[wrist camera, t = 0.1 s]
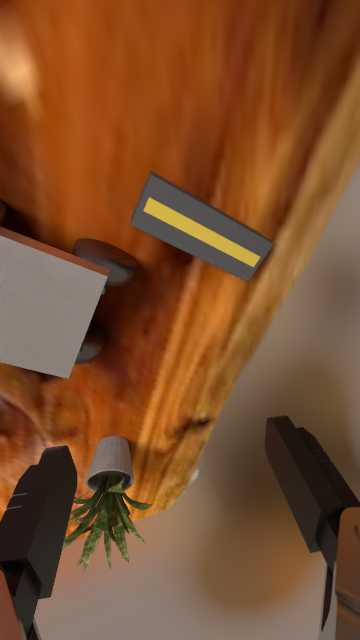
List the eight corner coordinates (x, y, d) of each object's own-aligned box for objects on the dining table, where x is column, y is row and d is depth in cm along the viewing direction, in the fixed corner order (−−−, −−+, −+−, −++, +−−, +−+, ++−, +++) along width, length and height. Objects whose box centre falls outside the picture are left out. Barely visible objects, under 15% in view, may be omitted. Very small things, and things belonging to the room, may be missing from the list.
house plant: (72, 408, 41) (37, 540, 27) (161, 417, 44) (170, 538, 31) (64, 461, 48) (34, 587, 35) (142, 465, 52) (142, 581, 38)
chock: (132, 214, 27) (130, 225, 24) (150, 170, 25) (151, 175, 22) (236, 267, 32) (248, 282, 28) (259, 232, 30) (274, 244, 26)
